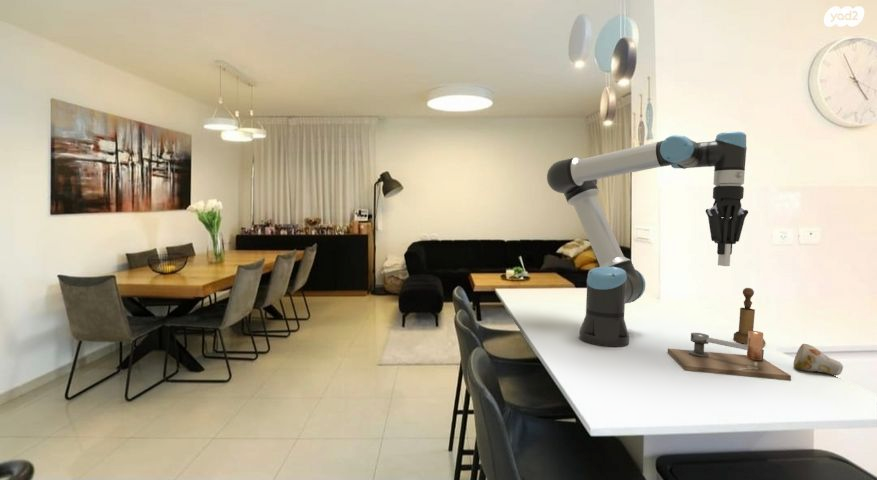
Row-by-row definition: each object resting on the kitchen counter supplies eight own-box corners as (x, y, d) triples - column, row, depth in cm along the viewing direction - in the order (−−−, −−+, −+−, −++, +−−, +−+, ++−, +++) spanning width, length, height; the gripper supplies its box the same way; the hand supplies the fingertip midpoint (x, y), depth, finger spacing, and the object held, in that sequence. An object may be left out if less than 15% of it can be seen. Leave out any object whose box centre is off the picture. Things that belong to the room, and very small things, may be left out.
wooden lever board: (685, 370, 114) (686, 341, 114) (667, 352, 130) (669, 326, 129) (790, 380, 109) (792, 349, 108) (759, 360, 124) (760, 333, 124)
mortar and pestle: (761, 345, 140) (765, 290, 139) (739, 344, 141) (742, 289, 140) (751, 340, 146) (754, 287, 145) (729, 338, 148) (732, 286, 147)
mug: (849, 382, 110) (827, 346, 110) (803, 388, 116) (783, 354, 117) (847, 367, 115) (826, 333, 116) (803, 374, 122) (784, 342, 122)
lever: (688, 346, 124) (689, 322, 124) (693, 343, 127) (694, 320, 127) (759, 361, 112) (761, 334, 112) (763, 358, 115) (765, 332, 114)
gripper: (720, 184, 123) (715, 267, 124) (758, 185, 125) (753, 267, 127) (699, 185, 130) (695, 264, 131) (735, 187, 133) (731, 264, 134)
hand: (723, 265), depth 129 cm, fingers closed
